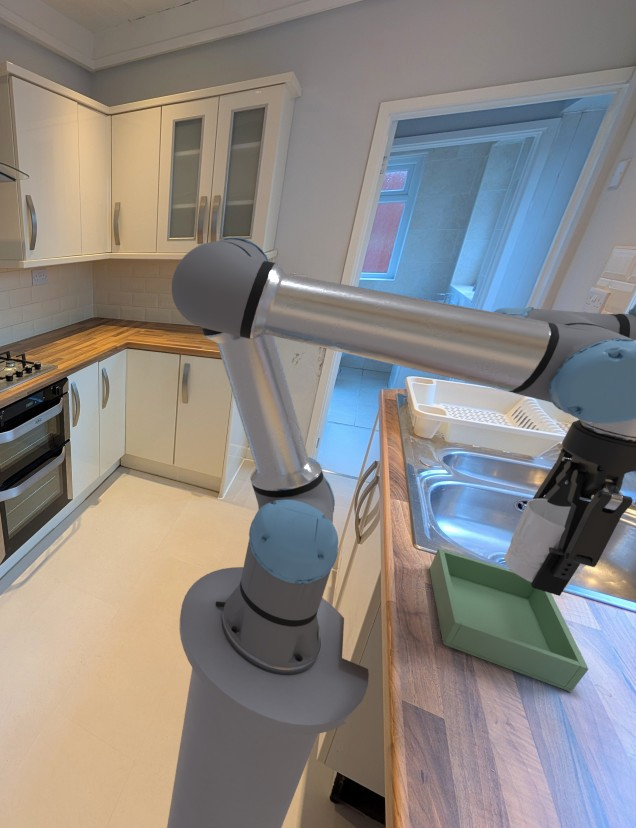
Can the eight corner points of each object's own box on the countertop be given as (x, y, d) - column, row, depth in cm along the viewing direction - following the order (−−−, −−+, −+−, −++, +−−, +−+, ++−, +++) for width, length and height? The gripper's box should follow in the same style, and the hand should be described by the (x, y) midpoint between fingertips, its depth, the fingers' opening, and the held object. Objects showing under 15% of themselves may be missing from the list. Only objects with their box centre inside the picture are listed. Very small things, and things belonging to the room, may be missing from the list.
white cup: (509, 545, 66) (537, 492, 62) (581, 577, 60) (618, 521, 56) (490, 565, 62) (518, 510, 58) (565, 602, 56) (603, 543, 52)
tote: (442, 644, 67) (454, 622, 65) (429, 568, 82) (438, 548, 79) (571, 692, 60) (588, 669, 58) (531, 600, 75) (544, 579, 73)
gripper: (719, 478, 42) (602, 636, 51) (625, 406, 58) (549, 538, 67) (609, 458, 45) (519, 609, 55) (549, 395, 61) (488, 522, 71)
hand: (536, 570), depth 61 cm, fingers closed on white cup, 8 cm apart
